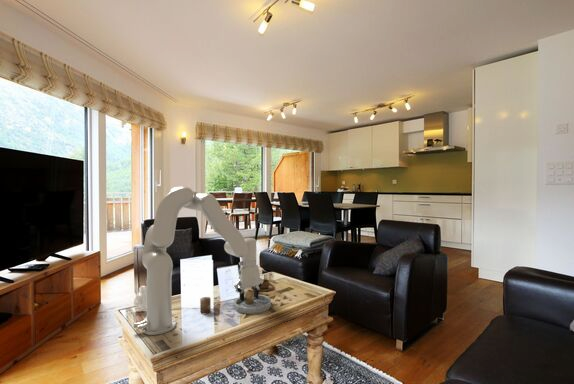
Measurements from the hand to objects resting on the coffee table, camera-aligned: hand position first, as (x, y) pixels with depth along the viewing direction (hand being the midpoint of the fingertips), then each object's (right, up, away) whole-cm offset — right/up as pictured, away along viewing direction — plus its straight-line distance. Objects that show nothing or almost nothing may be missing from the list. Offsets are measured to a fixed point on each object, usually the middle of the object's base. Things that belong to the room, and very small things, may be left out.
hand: (249, 298), depth 144 cm
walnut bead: (-19, -3, -9) cm, 21 cm away
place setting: (+3, -3, +19) cm, 20 cm away
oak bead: (0, -2, 0) cm, 2 cm away
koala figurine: (-50, -3, -7) cm, 50 cm away
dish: (+2, -3, -3) cm, 4 cm away
